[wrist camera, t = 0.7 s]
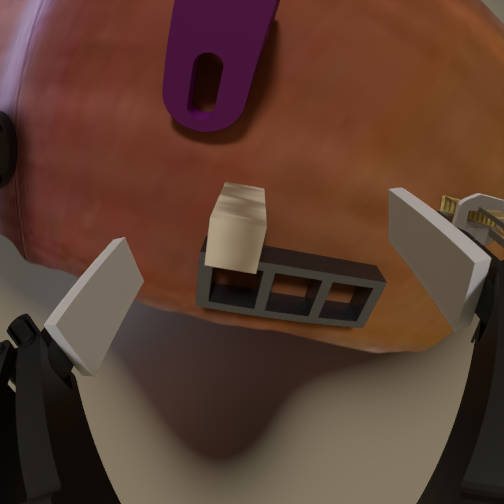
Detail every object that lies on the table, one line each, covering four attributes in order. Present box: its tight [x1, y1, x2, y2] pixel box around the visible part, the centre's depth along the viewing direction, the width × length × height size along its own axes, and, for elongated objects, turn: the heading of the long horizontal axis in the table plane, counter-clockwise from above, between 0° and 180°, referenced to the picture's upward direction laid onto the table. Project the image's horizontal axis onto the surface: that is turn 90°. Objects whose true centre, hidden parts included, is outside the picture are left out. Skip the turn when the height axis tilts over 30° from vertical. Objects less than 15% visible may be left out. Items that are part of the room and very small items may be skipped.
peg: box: [205, 182, 267, 274], centre depth 31 cm, size 5×5×12 cm
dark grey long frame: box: [196, 236, 387, 328], centre depth 39 cm, size 26×9×4 cm, turn 79°
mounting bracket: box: [163, 0, 280, 132], centre depth 25 cm, size 10×8×18 cm
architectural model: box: [438, 193, 504, 248], centre depth 29 cm, size 21×25×14 cm
